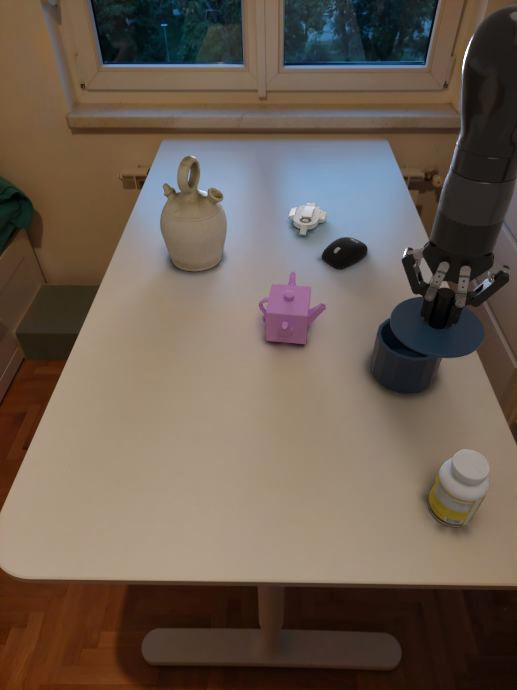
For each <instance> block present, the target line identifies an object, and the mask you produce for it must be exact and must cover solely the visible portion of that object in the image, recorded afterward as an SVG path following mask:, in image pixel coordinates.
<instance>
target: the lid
mask: <svg viewBox="0 0 517 690" xmlns="http://www.w3.org/2000/svg"><path fill="white" fill-rule="evenodd" d="M456 294H457V293H456V292H455V290H453V289H452V288H450V287H445V286H443V287H440V288H439V290H438V291H437V293H436V296H435V301H434V305H433V309H432V312H431V316H430V319H429V322H425V321H424V317H421V315H420V312H421V308H422V304H423V300H424V298H423V296H414V297H410V298H408V299H405V300H403V301H401V302H399V303H398V304H397V305H396V306H395V307H394V308H393V309H392V311H391V313H390V317H389V318H390V326H391V329H392V331H393V333H394V335H395V336H396V337H397V338H398V339H399V340H400V341H401V342H402V343H403V344H404V345H406V346H407V347H409V348H411V349H412V350H415V351H417V352H419V353H422V354H424V355H428V356H432V357H438V358H442V359H457V358H462V357H466V356H468V355H470V354H473V353H474V352H476V351H477V350H478V349H479V348H480V347H481V346H482V344H483V342H484V340H485V335H486V333H485V332H486V330H485V327H484V324H483V322H482V321H481V319H480V317H479V316H478V315H477V314H476V313H474V312H473V311H472V310H471V309H470V308H468V307H466V306H464V307H463V309H462V312H461V315H460V318H459V321H458V323H457V324H452V326H451V327H448V326H446V323H447V320H448V317H449V313H450V310H451V307H452V304H453V301H454V298H455V297H456Z"/></svg>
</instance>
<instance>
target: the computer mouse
mask: <svg viewBox="0 0 517 690" xmlns="http://www.w3.org/2000/svg"><path fill="white" fill-rule="evenodd" d="M368 249H369V247H368V246H367V245H366V244H365V243H364V242H362V241H361V240H359V239H356V238H354V237H349V236H343V237H339V238H337V239H335V240H333V241H332V242H331V243H329V244H328V245H327V246H326V247H325V248H324V250H323V252H322V253H321V259H322V260H323V261H324V262H326V263H327V264H328V265H330V266H332V267H334V268H336V269H339V270H341V269H345V268H347V267H349V266H351V265H353V264H355V263H357V262H358V261H360V260H362V259H363V258H364V257H365V256H366V255H367V254H368V252H369V251H368Z"/></svg>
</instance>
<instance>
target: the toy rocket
mask: <svg viewBox="0 0 517 690" xmlns="http://www.w3.org/2000/svg"><path fill="white" fill-rule="evenodd" d="M327 215H328V212H327V211H325V210H323V209H321V206H317V202H308V201H307V202H306V205H305V204H301V206H298V207H292V208H291V209H290V212H289V213H288V219H289V220H291V221H293V226H294V227H295V228H297V229H299V233H298V234H299V235H298V236H302V237H306V236H307V234H308V231H309V230H312V229H315V228H317V226H318V225H319V224H324V223H325V222H326V219H327Z"/></svg>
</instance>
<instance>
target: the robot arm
mask: <svg viewBox="0 0 517 690" xmlns="http://www.w3.org/2000/svg"><path fill="white" fill-rule="evenodd" d="M460 76H461V78H460V79H461V80H460V105H459V106H460V108H459V109H460V129H459V133H458V135H457V139H456V142H455V146H454V151H453V155H452V159H451V162H450V166H449V169H448V171H447V175H446V176H445V179H444V182H443V185H442V189H441V191H440V193H439V201H438V204H437V209H436V212H435V216H434V220H433V224H432V227H431V228H432V229H431V233H430V237H429V239H428V240H427V242H426V243H425V244H424V245H423V247H420V248H416V249H414V248H412V247H411V246H410V247H409V246H408V247H406V248H405V249H404V252H403V255H402V256H401V257H402V258H401V264H402V267H403V270H404V273H405V275H406V278H407V281H408V284H409V287H410V290H411V293H412V294H413V295H415V296H416V295H420V296H421V297H423V298H424V300H423V304H422V308H421V312H420V315H421V317H424V321H425V322H429V319H430V316H431V312H432V309H433V305H434V301H435V296H436V293H437V291H438V290H439V288H441V285H442V283H443V282H451V283H453V284H456V285H457V289H456V293H455V294H456V295H455V298H454V301H453V304H452V307H451V310H450V313H449V317H448V320H447V323H446V326H448V327H451V326H452V324H457V323H458V321H459V318H460V315H461V312H462V309H463V307H464V306H465V307H466V306H471V307H473V308H478V307H480V306H481V305H482V304H484V303H485V302H486V301H488V299H490V298H492V296H493V295H495V294H496V293H497V292H498V291H499V290H500V289H502V288H503V287H504V286H506V285H507V283H509V282H510V274H511V269H510V266H509V265H508V264H502V265H501V264H499V263H498V262H496V261H495V254H494V250H495V247H496V245H497V242H498V239H499V236H500V234H501V231H502V228H503V225H504V222H505V219H506V216H507V214H508V211H509V208H510V205H511V203H512V199H513V197H514V193H515V187H516V182H517V3H513V4H509V5H506V6H502V7H499V8H498V9H496V10H493V11H492V12H491V13H490V14H488V15H487V16H486V17H485V18H484V19H483V20H482V21H481V22H480V24H478V26H477V28H476V29H475V31H474V32H473V34H472V36H471V38H470V40H469V43H468V45H467V48H466V50H465V53H464V58H463V63H462V68H461V75H460ZM422 259H424V261H425V263H426V265H427V266H428V268H429V270H430V272H431V276H430V279H429V281H428V282H427V281H424V277H423V274H422V270H421V268H420V266H421V263H422ZM484 273H487V278H485V279H484V280H483V281H482V282H481V283H480V284H478V285H477V286H476V287H475V288H474V289H473V290H468V289H469V285H470V282H472V281H474V280H476V279H477V278H478V277H480V276H482V275H483V274H484Z"/></svg>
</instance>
